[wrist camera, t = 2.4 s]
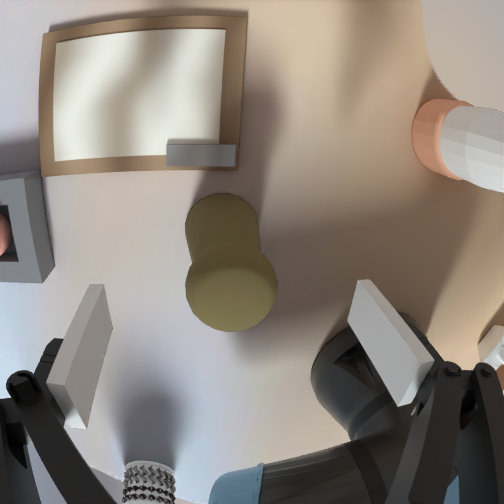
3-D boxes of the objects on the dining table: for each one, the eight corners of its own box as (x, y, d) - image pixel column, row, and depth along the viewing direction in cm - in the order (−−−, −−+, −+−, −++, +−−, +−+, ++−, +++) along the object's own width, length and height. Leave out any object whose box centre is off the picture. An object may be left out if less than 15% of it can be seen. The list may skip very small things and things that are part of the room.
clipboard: (245, 20, 20) (248, 15, 18) (236, 168, 25) (238, 172, 23) (47, 35, 17) (39, 32, 16) (45, 174, 22) (38, 178, 21)
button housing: (40, 169, 22) (23, 177, 19) (54, 266, 26) (42, 283, 23) (-32, 179, 21) (-50, 188, 18) (-15, 265, 24) (-29, 280, 22)
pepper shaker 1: (189, 188, 25) (181, 245, 15) (264, 198, 26) (304, 259, 16) (181, 257, 27) (172, 343, 17) (250, 265, 28) (276, 350, 19)
